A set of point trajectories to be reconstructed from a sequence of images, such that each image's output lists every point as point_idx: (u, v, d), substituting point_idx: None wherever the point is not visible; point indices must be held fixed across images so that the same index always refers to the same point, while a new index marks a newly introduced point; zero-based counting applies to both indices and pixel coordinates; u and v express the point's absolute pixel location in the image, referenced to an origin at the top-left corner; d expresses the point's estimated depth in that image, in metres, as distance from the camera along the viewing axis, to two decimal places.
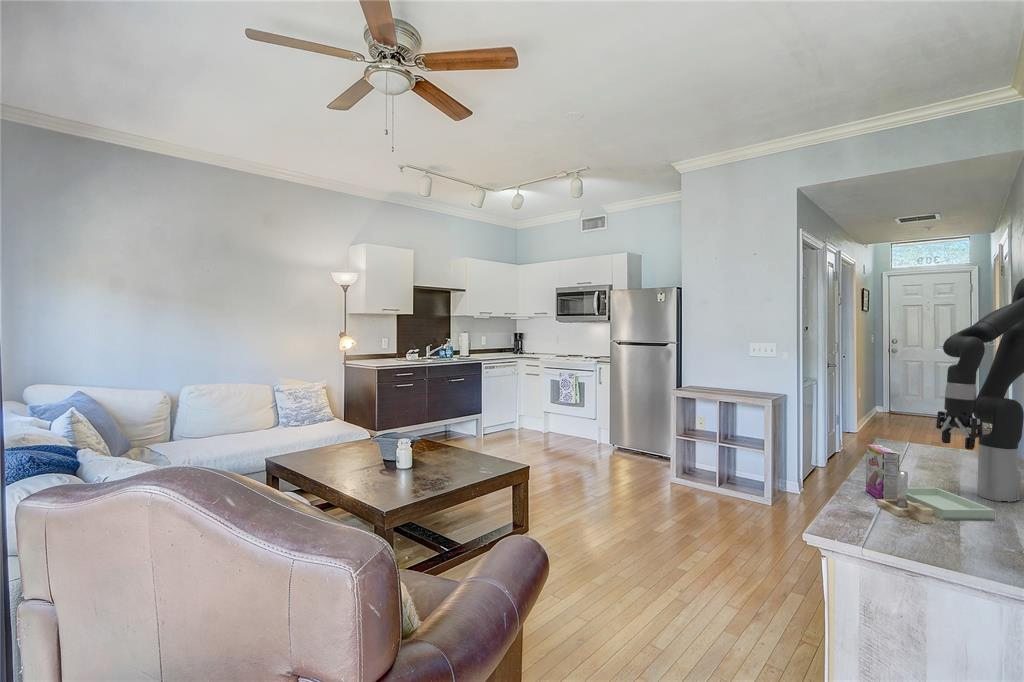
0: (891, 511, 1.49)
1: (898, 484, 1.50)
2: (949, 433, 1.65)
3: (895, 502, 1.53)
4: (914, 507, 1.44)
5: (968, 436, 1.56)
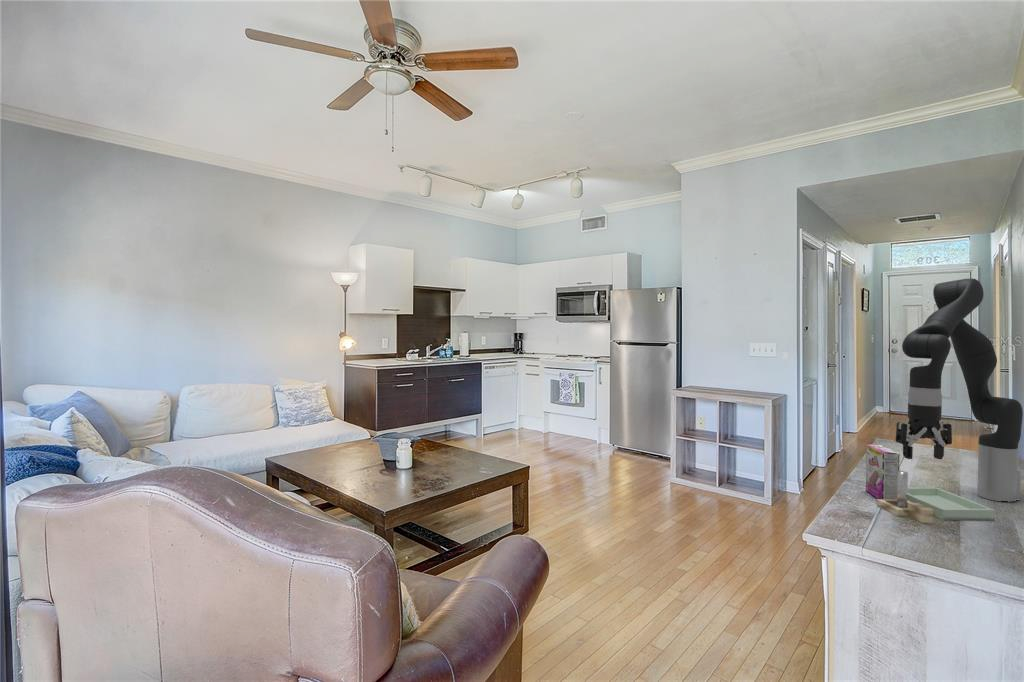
0: (891, 511, 1.49)
1: (898, 484, 1.50)
2: None
3: (895, 502, 1.53)
4: (914, 507, 1.44)
5: (944, 445, 1.41)
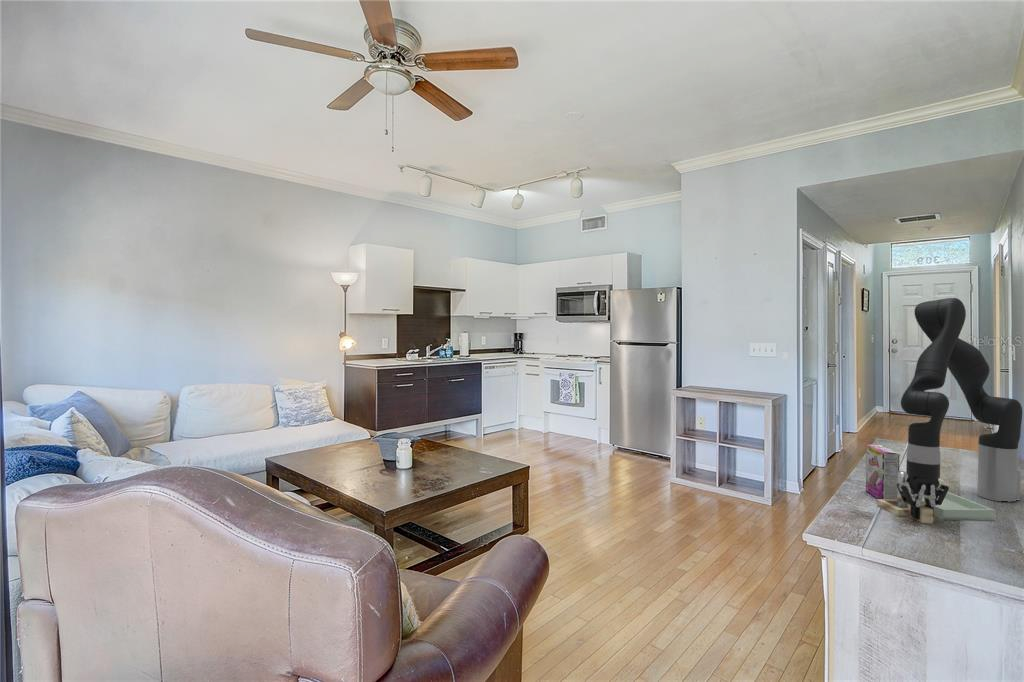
0: (891, 511, 1.49)
1: None
2: None
3: (895, 502, 1.53)
4: None
5: (934, 506, 1.42)
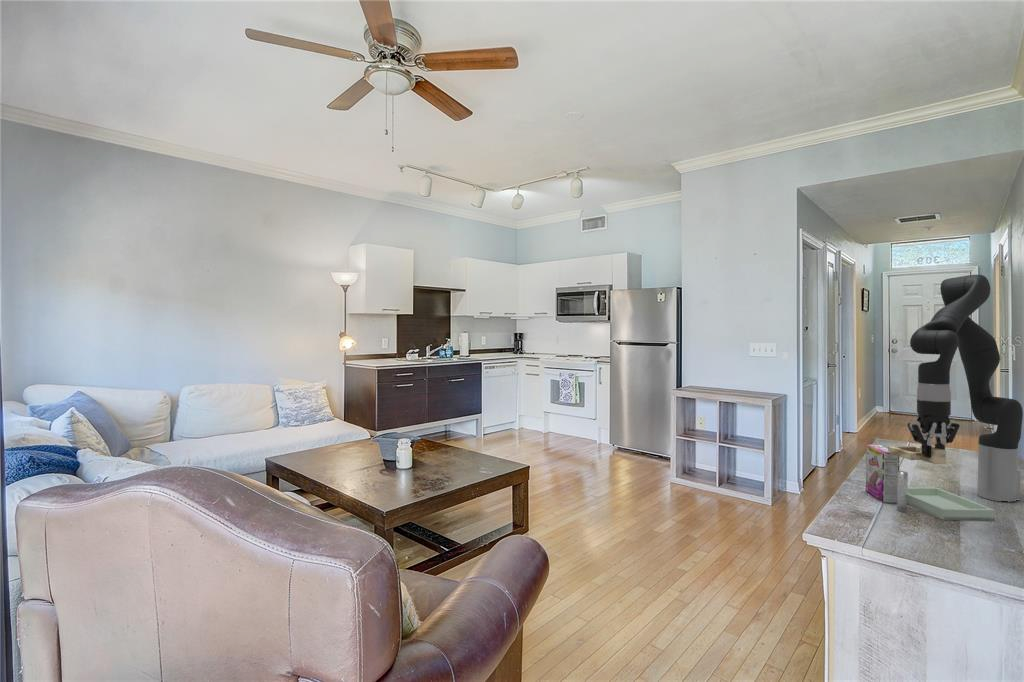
0: (903, 456, 1.49)
1: (898, 484, 1.50)
2: None
3: (907, 448, 1.54)
4: None
5: (945, 444, 1.42)
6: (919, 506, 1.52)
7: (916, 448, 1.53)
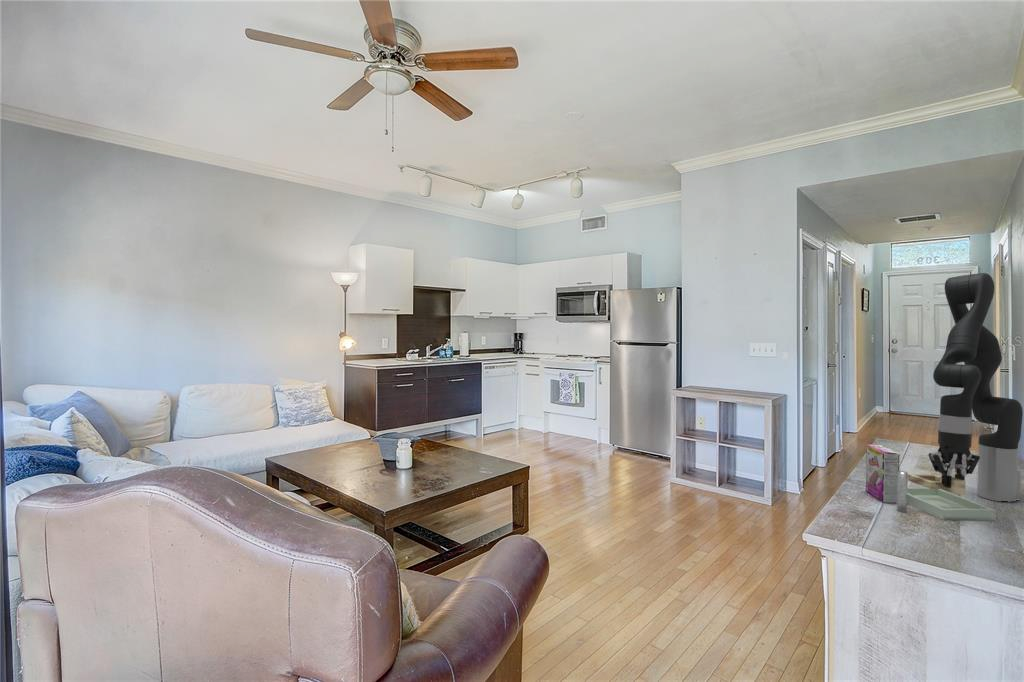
0: (923, 484, 1.53)
1: (898, 484, 1.50)
2: None
3: (926, 477, 1.58)
4: None
5: (965, 474, 1.47)
6: (919, 506, 1.52)
7: (936, 477, 1.58)
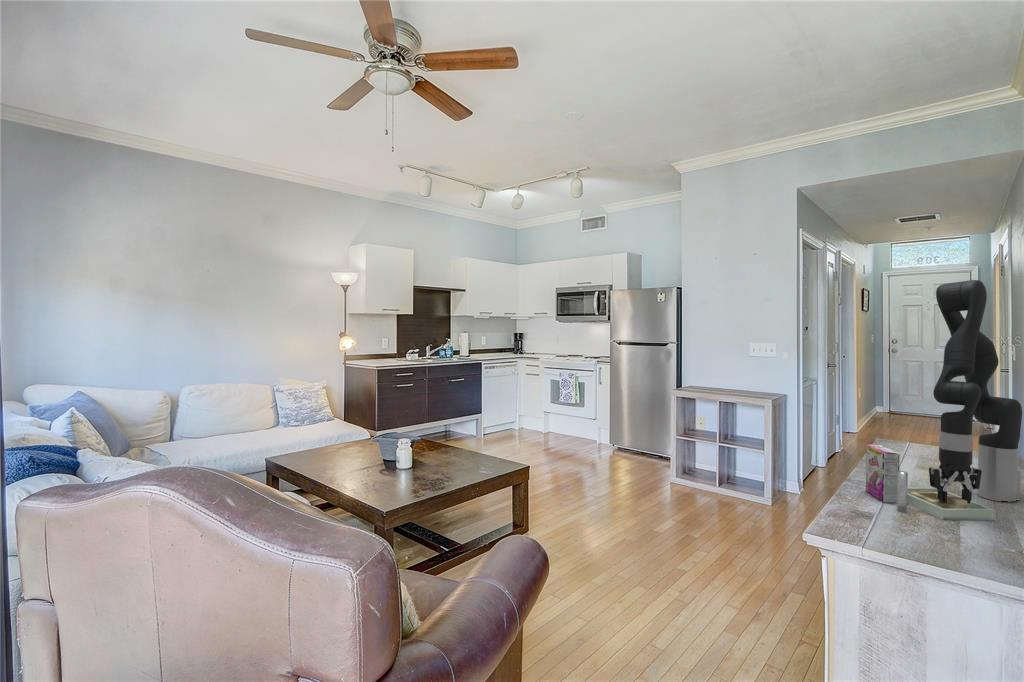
0: None
1: (898, 484, 1.50)
2: None
3: (928, 494, 1.58)
4: (948, 499, 1.48)
5: (972, 490, 1.47)
6: (919, 506, 1.52)
7: None
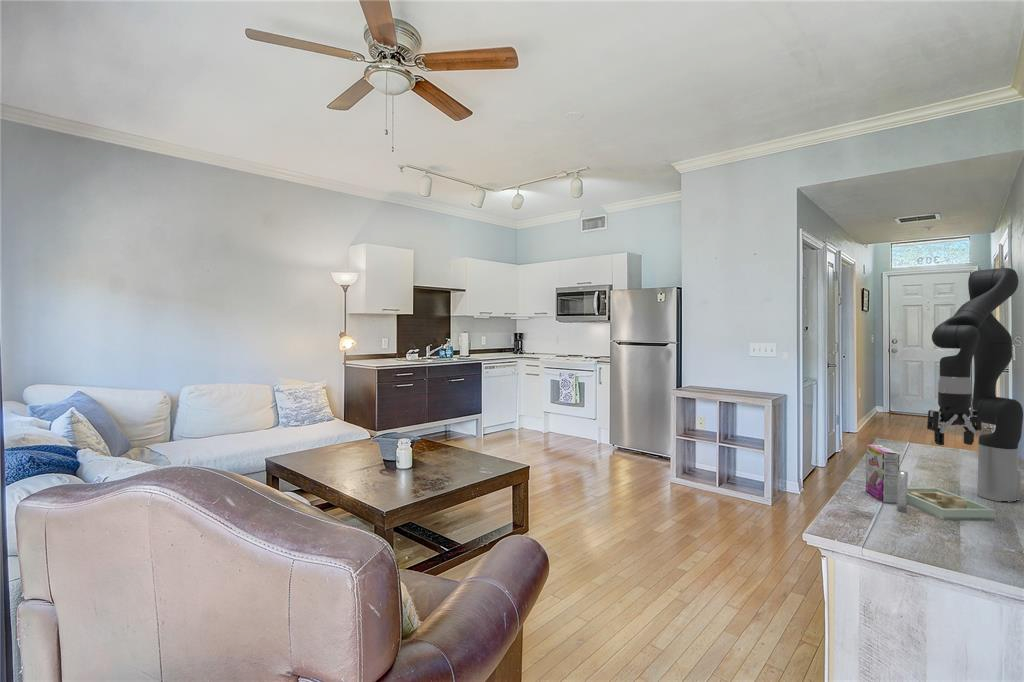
0: None
1: (898, 484, 1.50)
2: None
3: (928, 494, 1.58)
4: (948, 499, 1.48)
5: (974, 431, 1.47)
6: (919, 506, 1.52)
7: (937, 494, 1.58)
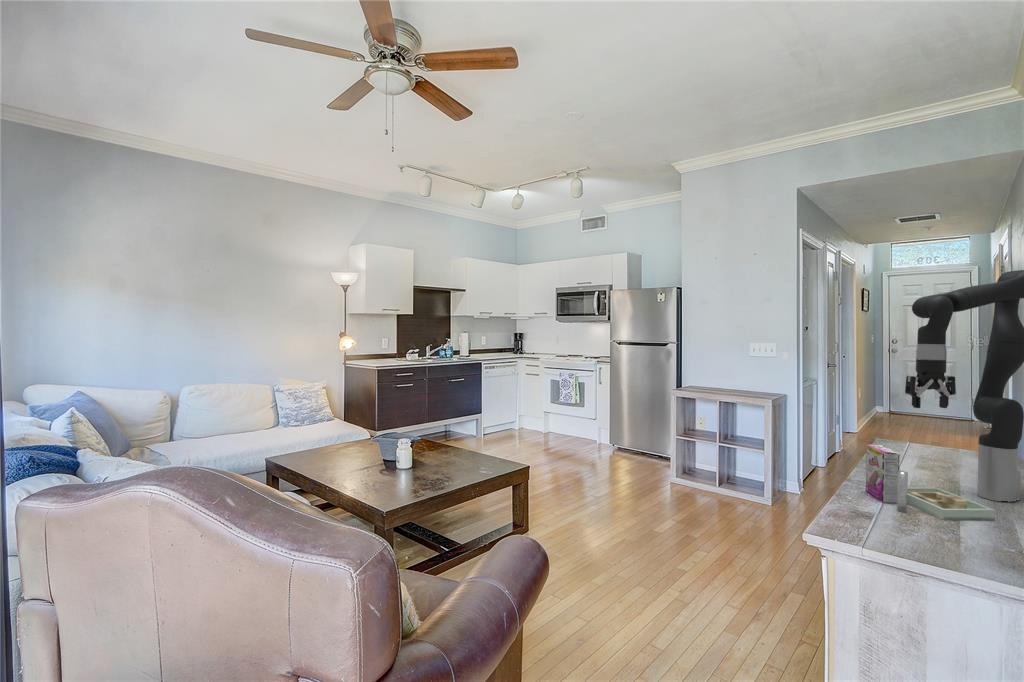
0: None
1: (898, 484, 1.50)
2: None
3: (928, 494, 1.58)
4: (948, 499, 1.48)
5: (949, 395, 1.58)
6: (919, 506, 1.52)
7: (937, 494, 1.58)
